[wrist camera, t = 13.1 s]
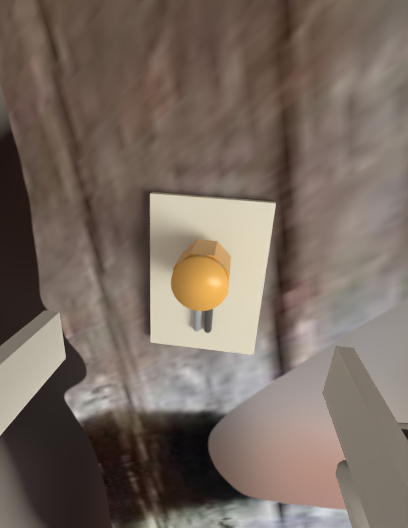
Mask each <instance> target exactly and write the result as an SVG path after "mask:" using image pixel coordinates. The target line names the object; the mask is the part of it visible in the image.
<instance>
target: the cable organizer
mask: <svg viewBox="0 0 408 528" xmlns="http://www.w3.org/2000/svg"><path fill="white" fill-rule="evenodd" d="M398 425H399V426H400V428H401V429H407V430H408V423H398ZM336 477H337V480H338V483H339V487H340V490H341V493H342V496H343V499H344V503H345V506H346V509H347V512H348V516H349V519H350V522H351V525H352V528H370V527H369V524H368V521H367V518H366V515H365V513H364V510H363V507H362V504H361V501H360V498H359V495H358V492H357V490H356V487H355V484H354V481H353V478H352V475H351V472H350V470H349V467H348V464H347V461H346V460H343V461H341V462H340V463H339V464H338V466H337V470H336Z"/></svg>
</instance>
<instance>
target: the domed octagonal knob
mask: <svg viewBox="0 0 408 528" xmlns="http://www.w3.org/2000/svg"><path fill="white" fill-rule="evenodd" d="M230 261H231V256H230V255H229V254H228V252H227V251H226V250H225V249H224V248H223V247H222V246H221V244H220V243H219V242H218V241H210V240H198V239H197V240H196V241H195V242H194V243H192V244H191V245H190V246H189V247H188V248H187V249H185V250H184V251H183V252H182V254H181V255H180V257H179V259H178V260H177V262H176V264H175V266H174V267H173V274H172V278H171V289H172V292H173V294H174V296H175V298H176V299H177V300H178V301H179V302H180V303H181V304H182V305H183V306H185V307H187V308H189V309H192V310H196V311H207V310H211V309H213V308H215V307H217V306H218V305H220V304H221V303H222V302H223V301H224V299H225V297H226V295H228V286H229V275H230Z"/></svg>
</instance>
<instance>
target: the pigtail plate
mask: <svg viewBox="0 0 408 528" xmlns="http://www.w3.org/2000/svg"><path fill="white" fill-rule="evenodd" d="M275 206H276V203H275V202H274V201H264V200H251V199H238V198H225V197H212V196H199V195H186V194H173V193H160V192H152V193H150V323H151V343H159V344H168V345H176V346H184V347H193V348H201V349H209V350H218V351H226V352H234V353H242V354H251V355H253V354H254V347H255V340H256V334H257V327H258V320H259V313H260V307H261V300H262V293H263V287H264V280H265V273H266V266H267V260H268V253H269V246H270V239H271V233H272V226H273V219H274V213H275ZM197 239H198V240H210V241H218V242H219V243H220V244H221V246H222V247H223V248H224V249H225V250H226V251H227V252H228V254H229V255H230V256H231V261H230V275H229V286H228V295H226V297H225V299H224V301H223V302H222V303H221V304H220V305H218V306H217V307H215V308H213V309H211V310H207V311H196V310H192V309H189V308H187V307H185V306H183V305H182V304H181V303H180V302H179V301H178V300H177V299H176V298H175V296H174V294H173V292H172V289H171V278H172V274H173V267H174V266H175V264H176V262H177V260H178V259H179V257H180V255H181V254H182V252H183V251H184V250H185V249H187V248H188V247H189V246H190V245H191V244H192V243H194V242H195V241H196V240H197Z"/></svg>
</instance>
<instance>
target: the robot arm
mask: <svg viewBox="0 0 408 528" xmlns="http://www.w3.org/2000/svg"><path fill="white" fill-rule="evenodd" d="M65 358H66V356H65V349H64V342H63V335H62V327H61V320H60V313H59V312H52V311H43V312H42V313H41V314H40V315H39V316H37V317H36V318H35V319H33V320H32V321H31V322H30V323H29V324H27V325H26V326H25V327H24V328H22V329H21V330H20V331H19V332H17V333H16V334H15V335H14V336H12V337H11V338H10V339H9V340H8V341H6V342H5V343H4V344H3V345H1V346H0V435H1V434H2V433H3V431H4V430H5V429H6V428H7V427H8V425H9V424H10V423H11V422H12V421H13V420H14V418H15V417H16V416H17V415H18V414H19V412H20V411H21V410H22V409H23V408H24V406H25V405H26V404H27V403H28V402H29V401H30V399H31V398H32V397H33V396H34V395H35V394H36V392H37V391H38V390H39V389H40V388H41V386H42V385H43V384H44V383H45V382H46V380H47V379H48V378H49V377H50V376H51V375H52V373H53V372H54V371H55V370H56V369H57V368H58V366H59V365H60V364H61V363H62V362H63V361H64V359H65ZM323 395H324V398H325V400H326V404H327V407H328V409H329V412H330V415H331V418H332V421H333V424H334V426H335V429H336V432H337V435H338V438H339V441H340V444H341V447H342V449H343V452H344V455H345V458H346V461H347V464H348V467H349V470H350V472H351V475H352V478H353V481H354V484H355V487H356V490H357V492H358V495H359V498H360V501H361V504H362V507H363V510H364V513H365V515H366V518H367V521H368V524H369V527H370V528H408V430H407V429H401V428H400V426H399V425H398V423H397V421H396V420H395V418H394V416H393V415H392V413H391V411H390V409H389V408H388V406H387V404H386V403H385V401H384V399H383V397H382V396H381V394H380V392H379V391H378V389H377V387H376V386H375V384H374V382H373V381H372V379H371V377H370V375H369V374H368V372H367V370H366V369H365V367H364V365H363V363H362V362H361V360H360V358H359V357H358V355H357V354H356V352H355V350H354V348H348V347H340V346H336V348H335V351H334V355H333V358H332V362H331V365H330V369H329V372H328V376H327V379H326V383H325V387H324V390H323Z"/></svg>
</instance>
